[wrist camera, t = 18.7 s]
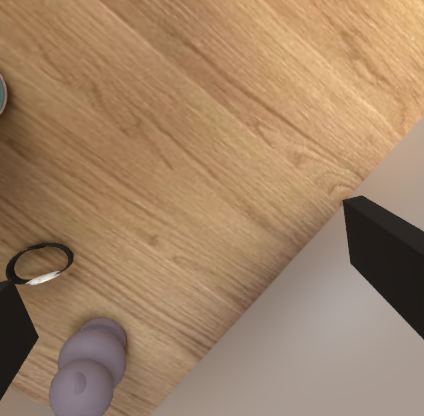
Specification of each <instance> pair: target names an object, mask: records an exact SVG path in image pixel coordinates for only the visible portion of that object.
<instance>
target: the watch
mask: <svg viewBox="0 0 424 416" xmlns="http://www.w3.org/2000/svg"><path fill="white" fill-rule="evenodd" d="M46 246H52V247H57V248H60V249H61V250H63V251H64V252H65V253H66V254H67V256H68V260H69V261H68V265H67V266H66V268H64V269H63V270H61V271H55V272H51V273H48V274H45V275H42V276H40V277H37V278H35V279H30V280H25V279H21V278H19V277H18V276H17V275H16V274H15V271H14V266H15V263H16V261H17V259H18V258H19V257H20V256H21V255H22V254H24V253H25V252H27V251H29V250H33V249H40V248H43V247H46ZM29 248H31V249H29ZM29 248H28V250H25V251H22V252H20V253H18V254H17V255H16V256H14V257H13V258H12V259H11V260H10V262H9V263H8V265H7V268H6V277H7V279H8V280H11V279H13V281H14V284H19V285H21V284H27V283H30V284H31V285H35V284H39V283H42V282H45V281H47V280H50V279H53V278H55V277H57V276H59V275H60V274H59V273H61V272H63V271H64V270H66V269H67V268H68V267H69V266H70V265H71V264H72V262H73V253H72V251H71V250H70V249H69V248H68V247H67V246H65V245H63V244H58V243H46V244H44V243H42V244H39V245H35V246H32V247H29Z"/></svg>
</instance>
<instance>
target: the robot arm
mask: <svg viewBox="0 0 424 416" xmlns="http://www.w3.org/2000/svg"><path fill="white" fill-rule="evenodd" d="M343 207H344V215H345V223H346V231H347V239H348V247H349V255H350V263H351V264H352V265H353V266H354V267H355V268H356V269H357V270H358V271H359V272H360V274H361V275H362V276H363V277H364V278H365V279H366V280H367V281H368V282H369V283H370V284H371V285H372V286H373V287H374V288H375V289H376V290H377V291H378V292H379V293H380V294H381V295H382V296H383V298H384V299H385V300H387V302H388V303H389V304H390V305H391V306H392V307H393V308H394V309H395V310H396V311H397V312H398V313H399V314H400V315H401V316H402V317H403V318H404V319H405V320H406V321H407V322H408V324H409V325H410V326H411V327H412V328H413V329H414V330H415V331H416V332H417V333H418V334H419V335H420V336H421V337H422V338H423V339H424V232H423V231H422V230H420V229H419V228H417V227H415V226H413V225H412V224H410V223H408V222H407V221H405V220H403V219H402V218H400V217H398V216H396V215H394V214H393V213H391V212H390V211H388V210H386V209H384V208H383V207H381V206H379V205H377V204H376V203H374V202H372V201H371V200H369V199H367V198H366V197H364V196H358V197H353V198H349V199H345V200H343ZM38 338H39V336H38V334H37V332H36V330H35V328H34V325H33V323H32V321H31V319H30V317H29V314H28V312H27V310H26V308H25V306H24V303H23V301H22V299H21V297H20V295H19V292H18V290H17V288H16V286H15V284H14V281H13V279H11V280H7V281H3V282H0V400H1V398H2V397H3V395H4V394H5V392H6V390H7V389H8V387H9V385H10V384H11V382H12V380H13V379H14V377H15V376H16V374H17V372H18V371H19V369H20V367H21V366H22V364H23V362H24V361H25V359H26V358H27V356H28V354H29V353H30V351H31V349H32V348H33V346H34V344H35V343H36V341H37V339H38Z"/></svg>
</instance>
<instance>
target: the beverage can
mask: <svg viewBox="0 0 424 416" xmlns="http://www.w3.org/2000/svg"><path fill="white" fill-rule="evenodd" d="M6 102H7V88H6V84H5V81H4V79H3V77H2V75H1V74H0V114H1V113H2V112H3V110H4V108H5V106H6Z"/></svg>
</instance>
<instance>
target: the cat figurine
mask: <svg viewBox="0 0 424 416" xmlns="http://www.w3.org/2000/svg"><path fill="white" fill-rule="evenodd" d="M126 342H127V341H126V333H125V331H124V329H123V328H122V327H121V326H120V325H119V324H118V323H117V322H115V321H113V320H110V319H106V318H96V319H92V320H89V321H88V322H86V323H85V324H83V326H82V327H81V328H80V330H79V332H77V333H76V334H75V335H73V336H72V337H70V338H69V339H68V340H67V342H66V343H65V344H64V346H63V347H62V349H61V351H60V355H59V359H58V370H59V371H58V372H57V374H56V375H55V376H54V378H53V380H52V382H51V386H50V390H49V399H50V406H51V408H52V410H53V412H54V414H55V415H56V416H103V414H104V413H105V412H106V411H107V409H108V408H109V406H110V403H111V400H112V397H113V389H114V388H116V386H117V385H118V384H119V382H120V381H121V380H122V378H123V375H124V372H125V369H126V355H125V352H124V349H125V346H126Z"/></svg>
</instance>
